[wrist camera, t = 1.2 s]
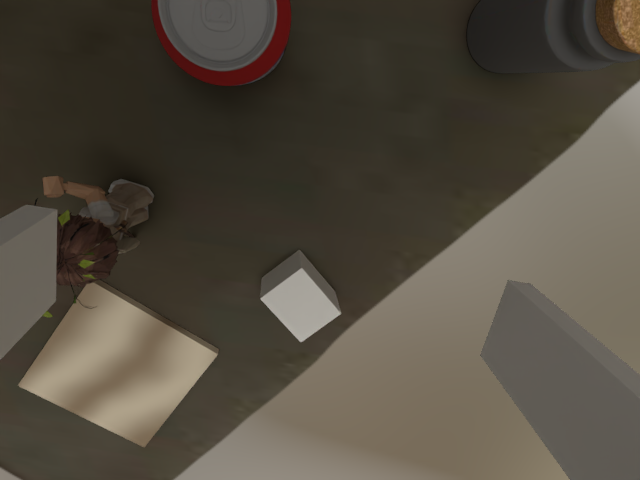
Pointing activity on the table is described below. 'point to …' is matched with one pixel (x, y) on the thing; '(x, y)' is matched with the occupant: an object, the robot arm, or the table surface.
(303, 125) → the table surface
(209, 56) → the beverage can
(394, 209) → the table surface
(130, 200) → the toy
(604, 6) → the bottle
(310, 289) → the white block
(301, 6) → the table surface
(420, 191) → the table surface
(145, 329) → the board
